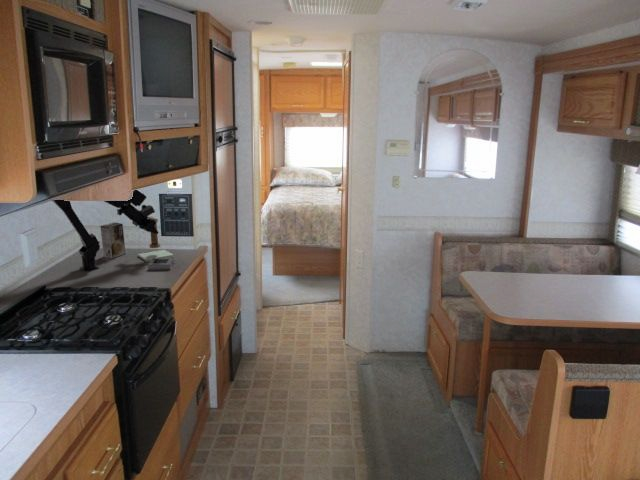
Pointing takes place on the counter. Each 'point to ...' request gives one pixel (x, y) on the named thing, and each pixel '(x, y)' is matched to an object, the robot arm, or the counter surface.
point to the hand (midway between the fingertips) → (156, 232)
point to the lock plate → (161, 264)
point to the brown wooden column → (154, 236)
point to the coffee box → (113, 240)
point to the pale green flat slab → (155, 255)
